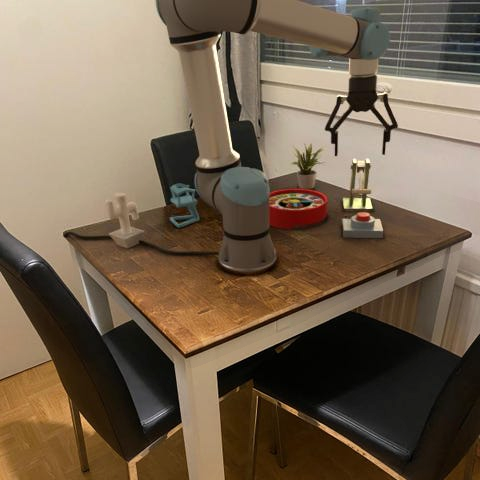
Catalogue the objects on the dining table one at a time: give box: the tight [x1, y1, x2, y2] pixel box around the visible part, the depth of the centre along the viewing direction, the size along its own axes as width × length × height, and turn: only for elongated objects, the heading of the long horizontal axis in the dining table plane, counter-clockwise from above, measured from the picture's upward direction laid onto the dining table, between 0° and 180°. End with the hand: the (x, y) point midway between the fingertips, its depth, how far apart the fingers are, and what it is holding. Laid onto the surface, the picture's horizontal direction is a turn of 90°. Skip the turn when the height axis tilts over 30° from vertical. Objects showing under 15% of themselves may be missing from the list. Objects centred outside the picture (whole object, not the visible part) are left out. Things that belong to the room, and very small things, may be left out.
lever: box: [352, 160, 372, 195], centre depth 152 cm, size 13×6×2 cm, turn 172°
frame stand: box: [342, 158, 373, 210], centre depth 157 cm, size 10×9×15 cm
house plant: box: [291, 143, 327, 190], centre depth 172 cm, size 14×14×16 cm
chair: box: [169, 182, 200, 229], centre depth 153 cm, size 8×8×12 cm
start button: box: [356, 211, 371, 221], centre depth 141 cm, size 4×4×2 cm
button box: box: [341, 214, 384, 239], centre depth 143 cm, size 11×9×4 cm
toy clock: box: [269, 188, 328, 230], centre depth 154 cm, size 20×6×20 cm
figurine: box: [105, 191, 145, 249], centre depth 139 cm, size 7×9×15 cm
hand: (359, 154), depth 145 cm, fingers open, 13 cm apart
